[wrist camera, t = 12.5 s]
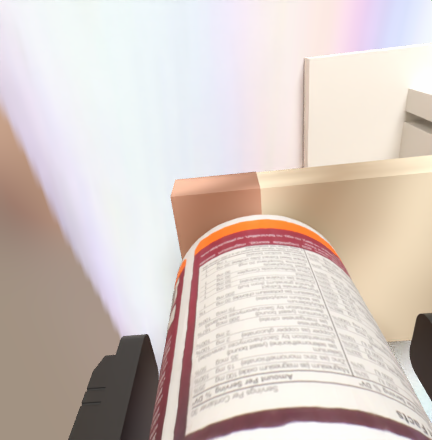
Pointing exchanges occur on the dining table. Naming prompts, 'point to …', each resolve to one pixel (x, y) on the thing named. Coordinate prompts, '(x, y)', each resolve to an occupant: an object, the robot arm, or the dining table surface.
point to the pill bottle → (277, 345)
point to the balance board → (337, 224)
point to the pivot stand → (368, 105)
